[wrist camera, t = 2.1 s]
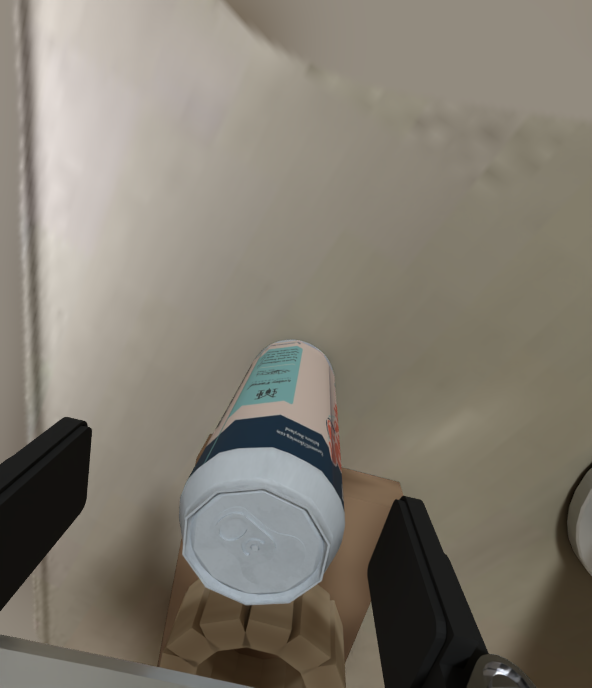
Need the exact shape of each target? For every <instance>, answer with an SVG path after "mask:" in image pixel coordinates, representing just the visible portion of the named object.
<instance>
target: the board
mask: <svg viewBox="0 0 592 688" xmlns="http://www.w3.org/2000/svg"><path fill="white" fill-rule="evenodd" d="M212 435H213V434H210V435H209V437H208V439H207V441H206V442H205V444H204V446H203V448H202V449H201V451H200V453H199V455H198V456H197V459H196V464H197V462H198V460H199V458H200V456H201V455H202V453H203V451H204V449H205V447H206V446H207V444H208V442H209V440H210V438H211V437H212ZM341 470H342V484H343V498H344V511H345V529H344V534H343V539H342V542H341V545H340V548H339V550H338V552H337V553H336V555H335V557H334V559H333V560H332V562H331V563H330V565H329V567H328V568H327V570H326V571H325V573H324V574H323V578H322V581H321V582H320V583H318V584H317V585H315V586H314V587H312V588H311V589H309V590H308V591H306V592H305V593H304V594H302V595H301V596H299V597H298V598H296V599H295V600H293V601H292V602H290V603H285V604H264V605H244V604H242V603H239V602H237V601H235V600H233V599H230V598H228V597H226V596H224V595H222V594H219V593H217V592H215V591H213V590H210V589H208V588H206V587H205V586H204V584H203V583H202V582H201V580H200V579H199V577H198V576H197V575H196V573H195V572H194V570H193V569H192V568H191V566H190V565H189V563H188V562H187V561H186V559H185V558H184V556H183V555H182V551H183V541H182V539H181V544H180V549H179V555H178V560H177V565H176V571H175V576H174V581H173V586H172V592H171V597H170V602H169V608H168V613H167V618H166V624H165V629H164V634H163V639H162V645H161V650H160V655H159V661H158V666H157V667H160V668H165V669H170V670H174V671H179V672H184V673H188V674H193V675H198V676H202V677H207V678H212V679H216V680H221V681H226V682H230V683H235V684H240V685H244V686H249V687H254V688H346V682H345V662H346V659H347V657H348V655H349V652H350V650H351V648H352V645H353V643H354V640H355V638H356V636H357V633H358V631H359V628H360V626H361V624H362V621H363V619H364V617H365V614H366V612H367V609H368V607H369V605H370V602H371V597H370V591H369V584H368V578H367V569H368V564H369V561H370V559H371V556H372V554H373V551H374V549H375V546H376V544H377V541H378V539H379V536H380V534H381V531H382V529H383V526H384V524H385V522H386V519H387V517H388V514H389V512H390V509H391V507H392V504H393V502H394V500H395V499H398V500H399V499H400V498H401V497H402V496H403V493H402V489H401V486H400V483H399V482H396V481H392V480H388V479H384V478H380V477H376V476H373V475H369V474H365V473H361V472H357V471H353V470H349V469H345V468H341Z"/></svg>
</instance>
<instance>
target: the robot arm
mask: <svg viewBox="0 0 592 688" xmlns="http://www.w3.org/2000/svg"><path fill="white" fill-rule="evenodd" d="M91 437H92V429H91V428H90V427H88V426H87V422H85V421H82V420H78V419H74V418H70V417H64V418H62V419H61V420H59V421H58V422H57V423H56V424H54V425H53V426H52V427H50V428H49V429H48V430H46V431H45V432H44V433H42V434H41V435H40V436H38V437H37V438H36V439H34V440H33V441H32V442H30V443H29V444H28V445H26V446H25V447H24V448H23V449H21V450H20V451H19V452H17V453H16V454H15V455H13V456H12V457H10V458H8V459H7V460H5V461H4V462H3V463H1V464H0V611H1V610H2V608H3V607H4V606H5V605H6V604H7V602H8V601H9V600H10V598H11V597H12V596H13V595H14V594H15V593H16V591H17V590H18V589H19V587H20V586H21V585H22V584H23V583H24V582H25V580H26V579H27V578H28V577H29V575H30V574H31V573H32V572H33V570H34V569H35V568H36V567H37V566H38V564H39V563H40V562H41V561H42V559H43V558H44V557H45V556H46V555H47V553H48V552H49V551H50V550H51V548H52V547H53V546H54V545H55V544H56V542H57V541H58V540H59V539H60V537H61V536H62V535H63V534H64V532H65V531H66V530H67V529H68V528H69V526H70V525H71V524H72V523H73V521H74V520H75V519H76V518H77V517H78V515H79V514H80V513H81V511H82V510H83V508H84V506H85V503H86V499H87V486H88V474H89V462H90V450H91ZM567 528H568V537H569V541H570V543H571V546H572V548H573V551H574V553H575V555H576V556H577V557H578V559H579V560H580V562H581V563H582V564H583V566H584V567H585V568H586V570H587V571H588V572H589V573H590V575H591V576H592V468H591V469H590V470H589V471H588V472H587V473H586V475H585V476H584V478H583V479H582V481H581V482H580V484H579V486H578V487H577V489H576V491H575V493H574V496H573V498H572V501H571V503H570V506H569V512H568V519H567ZM367 578H368V584H369V591H370V597H371V603H372V609H373V616H374V622H375V628H376V634H377V641H378V647H379V653H380V659H381V666H382V672H383V678H384V684H385V688H536V686H535V685H534V684H533V682H532V681H531V680H530V678H529V677H528V676H527V675H526V674H525V673H524V672H523V671H522V670H521V669H520V668H519V667H517V666H516V665H515V664H513V663H512V662H510V661H509V660H507V659H505V658H503V657H501V656H499V655H494V654H489V653H488V651H487V649H486V646H485V644H484V641H483V639H482V637H481V634H480V632H479V629H478V627H477V625H476V622H475V620H474V617H473V615H472V613H471V610H470V608H469V605H468V603H467V601H466V598H465V596H464V593H463V591H462V589H461V586H460V584H459V581H458V579H457V577H456V574H455V572H454V569H453V567H452V565H451V562H450V560H449V558H448V556H447V555H446V554H445V553H444V552H443V549H442V547H441V545H440V542H439V540H438V537H437V535H436V532H435V530H434V527H433V525H432V523H431V520H430V518H429V515H428V513H427V510H426V508H425V505H424V503H423V501H422V500H419V499H415V498H411V497H407V496H402V497H401V498H400V499H399V500H398V499H395V500H394V502H393V504H392V507H391V509H390V512H389V514H388V517H387V519H386V522H385V524H384V526H383V529H382V531H381V534H380V536H379V539H378V541H377V544H376V546H375V549H374V551H373V554H372V556H371V559H370V561H369V564H368V569H367ZM0 688H254V687H249V686H244V685H240V684H235V683H230V682H226V681H221V680H216V679H212V678H207V677H202V676H198V675H193V674H188V673H184V672H179V671H174V670H170V669H165V668H160V667H155V666H151V665H146V664H141V663H137V662H132V661H127V660H122V659H118V658H113V657H108V656H103V655H98V654H93V653H88V652H84V651H79V650H74V649H69V648H64V647H59V646H55V645H50V644H45V643H40V642H35V641H30V640H25V639H21V638H16V637H10V636H4V635H0Z"/></svg>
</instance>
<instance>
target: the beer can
mask: <svg viewBox="0 0 592 688" xmlns="http://www.w3.org/2000/svg"><path fill="white" fill-rule="evenodd" d="M179 521H180V527H181V533H182V541H183V551H182V555H183V556H184V558H185V559H186V561H187V562H188V563H189V565H190V566H191V568H192V569H193V570H194V572H195V573H196V575H197V576H198V577H199V579H200V580H201V582H202V583H203V584H204V586H205V587H206V588H208V589H210V590H213V591H215V592H217V593H219V594H222V595H224V596H226V597H228V598H230V599H233V600H235V601H237V602H239V603H242V604H244V605H264V604H285V603H290V602H292V601H293V600H295V599H296V598H298V597H299V596H301V595H302V594H304V593H305V592H306V591H308V590H309V589H311V588H312V587H314V586H315V585H317V584H318V583H320V582H321V581H322V578H323V574H324V573H325V571H326V570H327V568H328V567H329V565H330V563H331V562H332V560H333V559H334V557H335V555H336V553H337V552H338V550H339V548H340V545H341V542H342V539H343V534H344V529H345V511H344V498H343V484H342V470H341V457H340V443H339V430H338V416H337V403H336V389H335V376H334V372H333V369H332V366H331V364H330V362H329V360H328V358H327V357H326V356H325V355H324V354H323V352H321V351H320V350H319V349H318V348H317V347H315V346H313V345H311V344H309V343H307V342H304V341H300V340H281V341H278V342H275V343H273V344H270V345H269V346H267V347H266V348H265V349H263V350H262V351H261V352H260V353H259V354H258V356H257V357H256V358H255V360H254V361H253V363H252V365H251V366H250V368H249V370H248V372H247V374H246V375H245V377H244V379H243V381H242V383H241V384H240V386H239V388H238V390H237V392H236V393H235V395H234V397H233V399H232V401H231V402H230V404H229V406H228V408H227V410H226V411H225V413H224V415H223V417H222V419H221V420H220V422H219V424H218V426H217V428H216V429H215V431H214V433H213V435H212V437H211V438H210V440H209V442H208V444H207V446H206V447H205V449H204V451H203V453H202V455H201V456H200V458H199V460H198V462H197V464H196V465H195V467H194V469H193V471H192V473H191V474H190V476H189V478H188V480H187V482H186V484H185V487H184V490H183V492H182V494H181V497H180V507H179Z"/></svg>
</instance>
